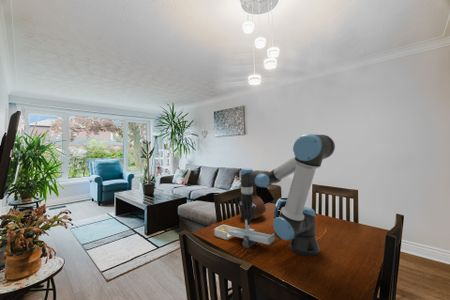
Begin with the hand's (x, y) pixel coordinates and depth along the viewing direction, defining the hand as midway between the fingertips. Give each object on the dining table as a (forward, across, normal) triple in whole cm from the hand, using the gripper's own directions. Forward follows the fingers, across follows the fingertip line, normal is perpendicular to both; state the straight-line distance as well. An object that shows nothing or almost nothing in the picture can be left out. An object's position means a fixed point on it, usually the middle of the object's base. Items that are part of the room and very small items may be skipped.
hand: (247, 229), depth 129 cm
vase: (+5, +15, -30) cm, 34 cm away
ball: (+3, +16, +7) cm, 17 cm away
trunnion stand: (+5, -7, +7) cm, 11 cm away
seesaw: (+1, -7, +4) cm, 8 cm away
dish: (+5, +13, +7) cm, 16 cm away
